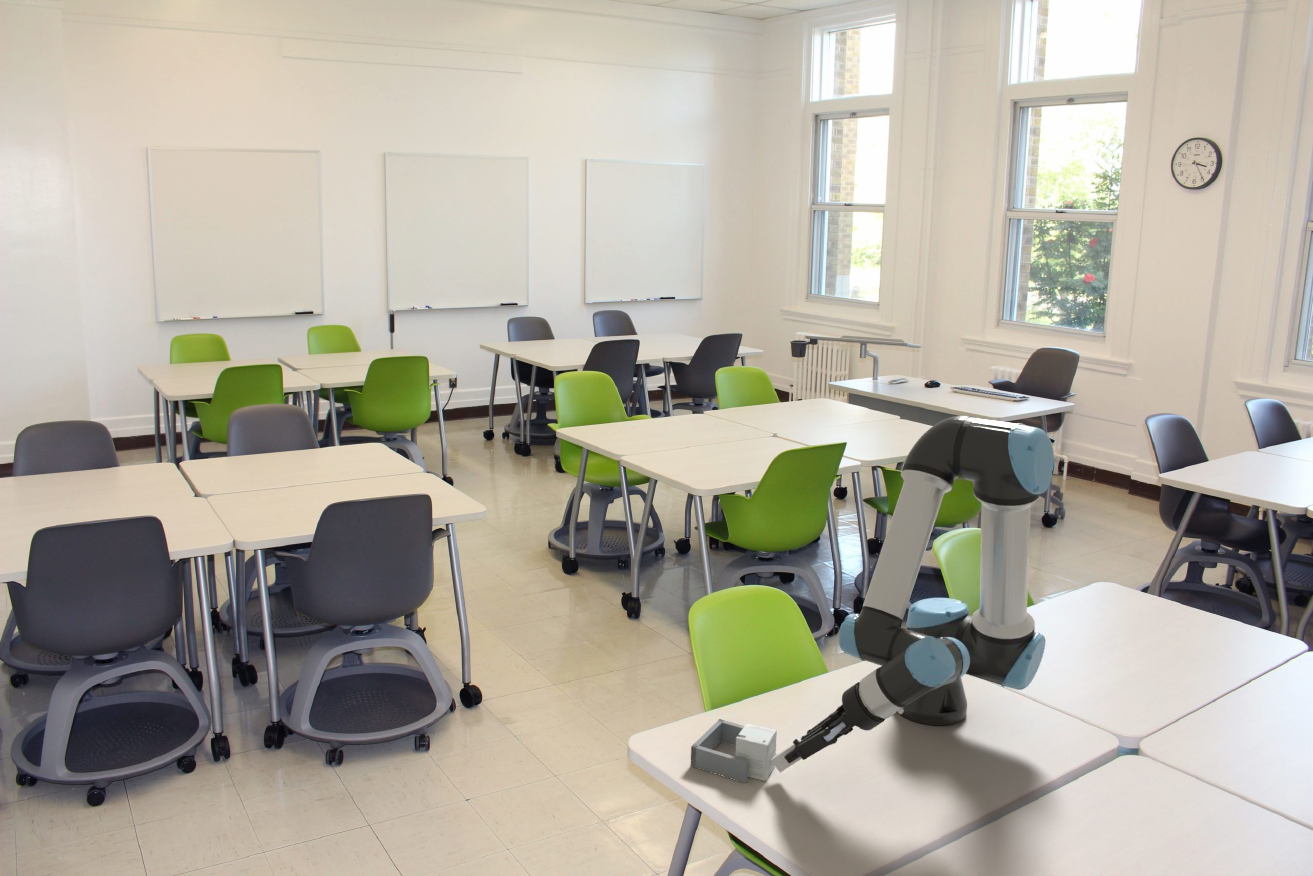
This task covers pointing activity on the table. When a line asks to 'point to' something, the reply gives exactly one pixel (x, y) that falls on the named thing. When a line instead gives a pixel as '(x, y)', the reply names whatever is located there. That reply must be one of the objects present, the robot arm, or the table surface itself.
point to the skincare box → (757, 750)
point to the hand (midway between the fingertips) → (777, 764)
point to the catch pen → (716, 760)
